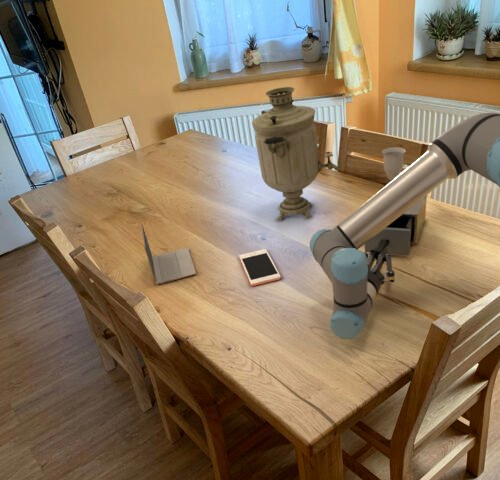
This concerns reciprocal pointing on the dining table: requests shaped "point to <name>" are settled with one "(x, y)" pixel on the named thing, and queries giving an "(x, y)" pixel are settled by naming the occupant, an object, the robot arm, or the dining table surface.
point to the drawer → (395, 236)
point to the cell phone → (259, 267)
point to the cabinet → (417, 217)
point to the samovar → (288, 150)
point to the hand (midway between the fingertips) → (383, 243)
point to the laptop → (169, 263)
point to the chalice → (393, 161)
